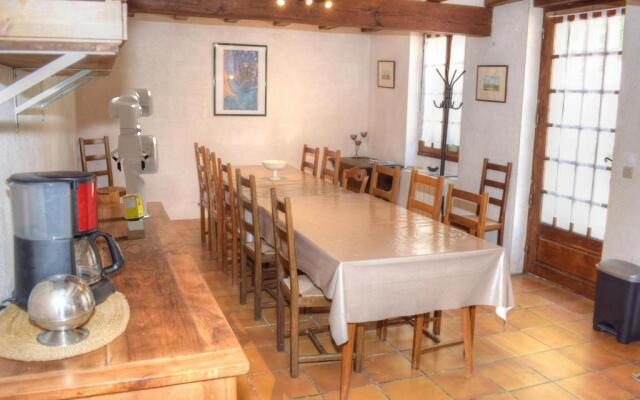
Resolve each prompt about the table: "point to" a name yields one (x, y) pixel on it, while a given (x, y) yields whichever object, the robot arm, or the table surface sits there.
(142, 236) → the walnut slab
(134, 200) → the supplement box
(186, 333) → the table surface
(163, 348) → the table surface
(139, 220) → the cream square block
